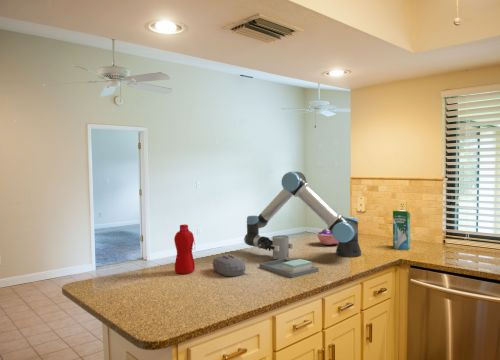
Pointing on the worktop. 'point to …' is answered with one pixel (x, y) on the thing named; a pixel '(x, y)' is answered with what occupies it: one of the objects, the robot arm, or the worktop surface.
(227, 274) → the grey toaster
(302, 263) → the teal sponge
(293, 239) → the worktop surface
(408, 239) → the milk carton
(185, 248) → the water bottle
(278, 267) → the tote tray
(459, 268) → the worktop surface
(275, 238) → the speckled grey can
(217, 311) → the worktop surface
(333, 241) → the cell model
